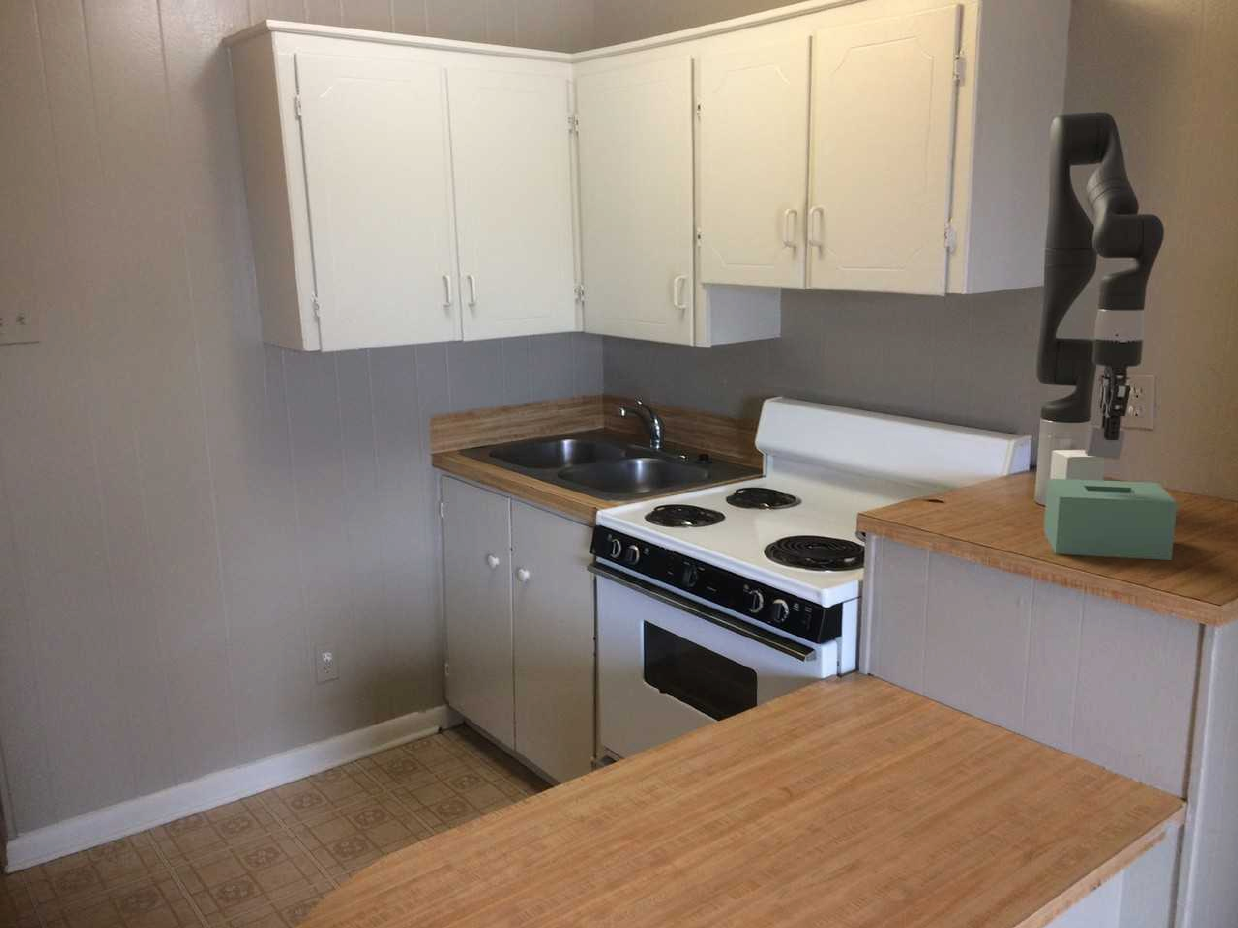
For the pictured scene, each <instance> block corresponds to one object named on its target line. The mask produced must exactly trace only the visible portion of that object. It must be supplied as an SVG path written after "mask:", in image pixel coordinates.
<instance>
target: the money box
mask: <svg viewBox="0 0 1238 928" xmlns="http://www.w3.org/2000/svg"><path fill="white" fill-rule="evenodd" d="M1044 506H1045V505H1044ZM1177 511H1178V501H1177V500H1176V499H1175V498H1174V496H1172V495H1171V494H1170V493H1168V492H1167V490H1165V489H1164V488H1162V487H1161V485H1160V484H1158V483H1157V482H1147V481H1143V482H1141V481H1121V480H1120V481H1119V480H1103V481H1098V480H1073V479H1048V480H1047V493H1046V506H1045V509H1044V518H1043V519H1044V520H1043V521H1044V522H1043V533H1044V535H1045V537H1046V539H1047V540H1048V543H1049V542H1050V543H1049V545H1050V546H1051V548H1052V550H1053V551H1054V553H1055V554H1059V555H1060V554H1061V555H1072V556H1073V555H1075V556H1077V555H1079V556H1091V557H1092V556H1093V557H1109V558H1113V557H1114V558H1128V559H1129V558H1130V559H1143V560H1144V559H1145V560H1146V559H1147V560H1148V559H1149V560H1160V561H1161V560H1163V561H1164V560H1165V561H1169V560H1170V561H1172V559H1173V549H1174V548H1173V547H1174V541H1175V530H1176V522H1177V521H1176V519H1177Z"/></svg>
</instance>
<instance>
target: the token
mask: <svg viewBox="0 0 1238 928" xmlns="http://www.w3.org/2000/svg"><path fill="white" fill-rule="evenodd" d="M1104 433H1105V427H1103V426H1101V425H1095V424H1094V425H1093V424H1090V430H1089V436H1088V441H1087V446H1086V451H1085V453H1086V455H1087V456H1092V457H1100V458H1105V459H1110V460H1118V461H1119V460H1120V458H1121V452H1122V447H1123V442H1124V438H1125V437H1124V436H1125V430H1124V429H1123V428H1121V427H1120V432H1119V439H1118V440H1106V439H1105V438H1104Z"/></svg>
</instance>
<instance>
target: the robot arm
mask: <svg viewBox="0 0 1238 928" xmlns="http://www.w3.org/2000/svg"><path fill="white" fill-rule="evenodd" d="M1121 142H1122V141H1121V137H1120V131H1119V129H1118V124H1117V121H1116V120H1115V118H1114V116H1113V115H1111V113H1109V112H1101V111H1099V112H1098V111H1097V112H1080V113H1078V112H1077V113H1067V114H1060V115H1057V116H1055V118H1054V119H1053V121H1052V123H1051V127H1050V132H1049V140H1048V143H1049V144H1048V181H1049V182H1048V190H1049V191H1048V211H1047V212H1048V213H1047V223H1046V224H1047V227H1046V235H1045V245H1044V246H1045V247H1044V248H1045V249H1044V259H1043V260H1044V262H1043V263H1044V265H1043V266H1044V267H1043V293H1042V295H1043V297H1042V310H1041V319H1040V327H1039V335H1038V336H1039V338H1038V345H1037V355H1036V367H1035V368H1036V369H1035V370H1036V373H1035V374H1036V378H1037V380H1038V382H1039V383H1041V384H1042V385H1048V386H1049V385H1051V386H1072V387H1074V386H1075V390H1074V391H1073V392H1072V393H1071V394H1069V395H1067V396H1065V397H1062V398H1059V399H1055V400H1052V401H1048V402H1045V403H1044V404H1042V405H1041V409H1040V419H1039V431H1038V433H1039V436H1038V446H1037V447H1038V448H1037V460H1036V461H1037V463H1036V474H1035V475H1036V476H1035V487H1034V488H1035V489H1034V500H1033V501H1034V502H1035V503H1036V504H1039V505H1041V506H1046V493H1047V480H1048V479H1050V476H1051V462H1052V451H1056V450H1086V446H1087V441H1088V436H1089V430H1090V425H1091V420H1092V419H1091V415H1092V403H1093V402H1092V401H1093V390H1094V386H1095V385H1094V384H1095V376H1096V371H1097V366H1100V367H1104V371H1103V374H1100V376H1099V378H1098V381H1099V406H1098V407H1099V410H1100V413H1101V416H1102V417H1101V425H1100V426H1103V427H1105V433H1104V438H1105V439H1106V440H1118V439H1119V432H1120V428H1121V419H1123V417H1125V416H1126V411H1127V407H1128V402H1129V397H1130V393H1131V390H1132V389H1131V385H1130V384H1131V383H1130V380H1131V378H1130V377H1129V376H1128V373H1127V369H1128V368H1129V367H1131V368H1132V367H1139V366H1140V365H1141V364H1142V359H1143V358H1142V357H1143V346H1144V338H1145V337H1144V335H1145V324H1146V323H1145V305H1146V297H1147V296H1146V294H1147V289H1148V282H1149V279H1150V276H1151V273H1152V270H1153V267H1154V264H1155V261H1156V258H1157V257H1158V254H1159V252H1160V250H1161V246H1162V244H1163V241H1164V236H1165V230H1164V225H1163V223H1162V220H1161V219H1160V218H1159V217H1158V216H1157V215H1155V214H1150V213H1148V214H1147V213H1143V214H1142V213H1140V214H1138V213H1139V209H1140V205H1139V201H1138V198H1137V196H1136V193H1135V191H1134V190H1133V187H1132V185H1131V183H1130V181H1129V179H1128V175H1127V171H1126V166H1125V159H1124V153H1123V148H1122V143H1121ZM1096 164H1099V165H1098V167H1097V168H1096V170H1094V172H1093V173H1092V174H1091V176H1090V178H1089V180H1088V181H1087V182H1088V183H1087V185H1086V191H1085V193H1086V194H1085V195H1086V200H1087V203H1088V205H1089V208H1090V211H1091V214H1092V216H1093V222H1092V220H1091V219H1090V217H1089V216H1088V214H1087V212H1086V211H1085V210H1084V207H1083V206H1082V205H1081V203H1080V201H1079V199H1078V197H1077V194H1076V193H1075V190H1074V188H1073V183H1072V179H1071V177H1072V176H1071V166H1086V165H1087V166H1088V165H1096ZM1098 256H1100V257H1102V258H1104V259H1132V261H1131V262H1130V265H1129V266H1128V267H1127V268H1126V269H1124V270H1121V271H1117V272H1110V273H1108V274H1105V275H1103V276H1102V278H1101V280H1100V283H1099V292H1098V293H1099V294H1098V303H1097V305H1098V306H1097V313H1096V318H1095V321H1094V322H1095V323H1094V330H1093V331H1094V333H1093V339H1091V338H1090V339H1089V338H1060V337H1059V338H1058V337H1057V333H1058V329H1059V327H1060V325H1061V323H1062V321H1063V319H1064V317H1065V315H1066V314H1067V313H1068V311H1069V309H1071V308H1070V307H1071V306H1072V305H1073V304H1074V303H1075V301H1076V300H1077V298H1078V297H1079V296H1080V295H1081V294H1082V292H1083V291H1084V290H1085V288H1087V286H1088V285H1089V283H1090V281H1091V280H1092V279H1093V278H1094V275H1095V272H1096V269H1097V261H1098V260H1097V258H1098Z"/></svg>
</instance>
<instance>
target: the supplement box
mask: <svg viewBox="0 0 1238 928" xmlns="http://www.w3.org/2000/svg"><path fill="white" fill-rule="evenodd" d="M1085 451H1086V450H1056V451H1052V462H1051V476H1050V479H1073V480H1098V481H1104V476H1105V475H1104V474H1105V465H1106V463H1105V462H1106V458H1100V457H1092V456H1087V455H1086V453H1085Z"/></svg>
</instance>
